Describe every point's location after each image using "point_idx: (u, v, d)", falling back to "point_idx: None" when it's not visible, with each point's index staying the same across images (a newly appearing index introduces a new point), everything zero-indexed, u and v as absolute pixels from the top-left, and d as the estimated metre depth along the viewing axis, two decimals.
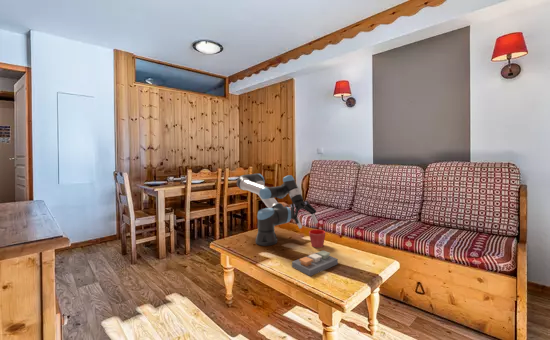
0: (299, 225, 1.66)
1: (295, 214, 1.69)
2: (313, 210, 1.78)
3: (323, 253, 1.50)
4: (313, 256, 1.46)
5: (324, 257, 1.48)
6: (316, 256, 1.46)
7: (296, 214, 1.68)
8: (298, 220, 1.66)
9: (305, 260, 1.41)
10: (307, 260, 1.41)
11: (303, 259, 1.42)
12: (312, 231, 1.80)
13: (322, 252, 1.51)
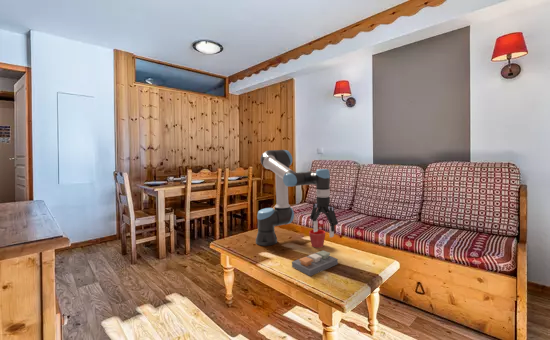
0: None
1: None
2: (335, 221, 1.43)
3: (323, 253, 1.50)
4: (313, 256, 1.46)
5: (324, 257, 1.48)
6: (316, 256, 1.46)
7: (313, 217, 1.53)
8: (313, 224, 1.54)
9: (305, 260, 1.41)
10: (307, 260, 1.41)
11: (303, 259, 1.42)
12: (312, 231, 1.80)
13: (322, 252, 1.51)
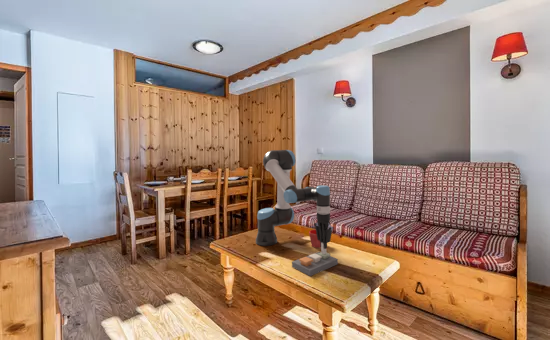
0: None
1: None
2: (329, 239, 1.47)
3: (323, 254, 1.50)
4: (313, 256, 1.46)
5: (324, 258, 1.48)
6: (316, 256, 1.46)
7: (320, 237, 1.50)
8: (321, 245, 1.50)
9: (305, 260, 1.41)
10: (307, 260, 1.41)
11: (303, 259, 1.42)
12: (312, 231, 1.80)
13: None
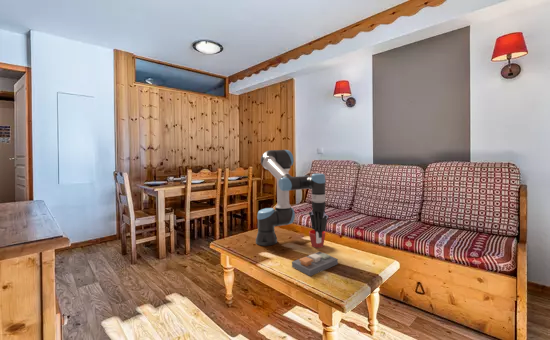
0: None
1: None
2: (324, 228, 1.44)
3: (323, 255, 1.50)
4: (313, 256, 1.46)
5: None
6: (316, 256, 1.46)
7: (315, 226, 1.48)
8: (316, 234, 1.47)
9: (305, 260, 1.41)
10: (307, 260, 1.41)
11: (303, 259, 1.42)
12: (312, 231, 1.80)
13: (322, 254, 1.51)
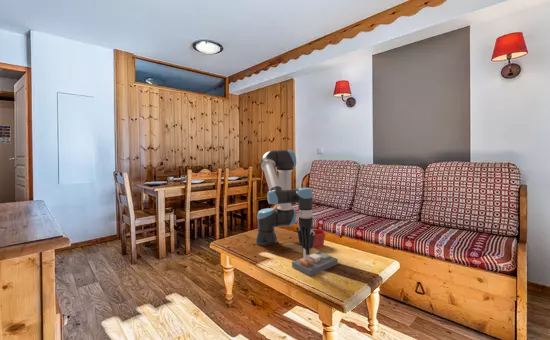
0: None
1: None
2: (311, 245, 1.39)
3: (323, 255, 1.50)
4: (313, 256, 1.46)
5: None
6: (316, 256, 1.46)
7: (302, 243, 1.42)
8: (303, 251, 1.41)
9: (305, 261, 1.41)
10: (307, 261, 1.41)
11: (303, 260, 1.42)
12: None
13: (322, 254, 1.51)
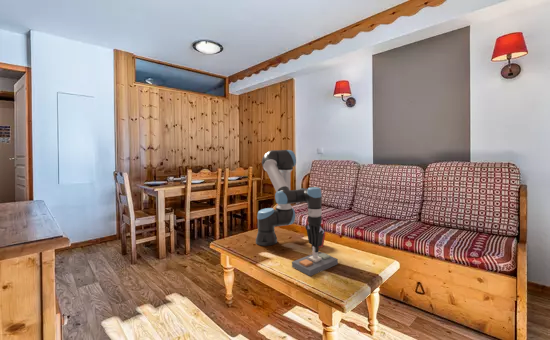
0: None
1: None
2: None
3: (323, 255, 1.50)
4: (313, 258, 1.46)
5: None
6: (316, 258, 1.46)
7: (311, 241, 1.46)
8: (312, 249, 1.46)
9: (305, 263, 1.41)
10: (307, 263, 1.41)
11: (303, 262, 1.42)
12: None
13: (322, 254, 1.51)
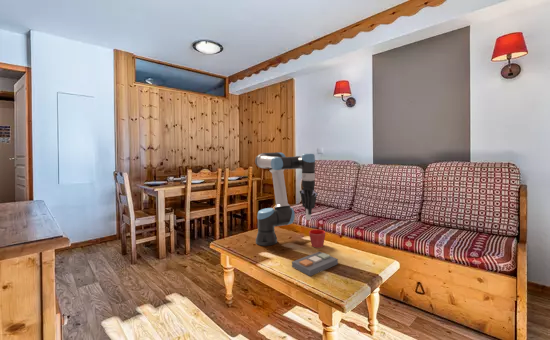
0: None
1: None
2: (313, 205, 1.52)
3: (323, 255, 1.50)
4: (313, 258, 1.46)
5: None
6: (316, 258, 1.46)
7: (305, 204, 1.55)
8: (306, 211, 1.55)
9: (305, 263, 1.41)
10: (307, 263, 1.41)
11: (303, 262, 1.42)
12: (312, 231, 1.80)
13: (322, 254, 1.51)
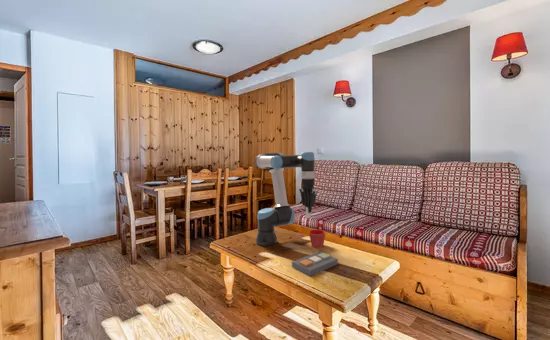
0: None
1: (305, 202, 1.56)
2: (313, 203, 1.52)
3: (323, 255, 1.50)
4: (313, 258, 1.46)
5: None
6: (316, 258, 1.46)
7: (304, 202, 1.56)
8: (306, 210, 1.55)
9: (305, 263, 1.41)
10: (307, 263, 1.41)
11: (303, 262, 1.42)
12: (312, 231, 1.80)
13: (322, 254, 1.51)
